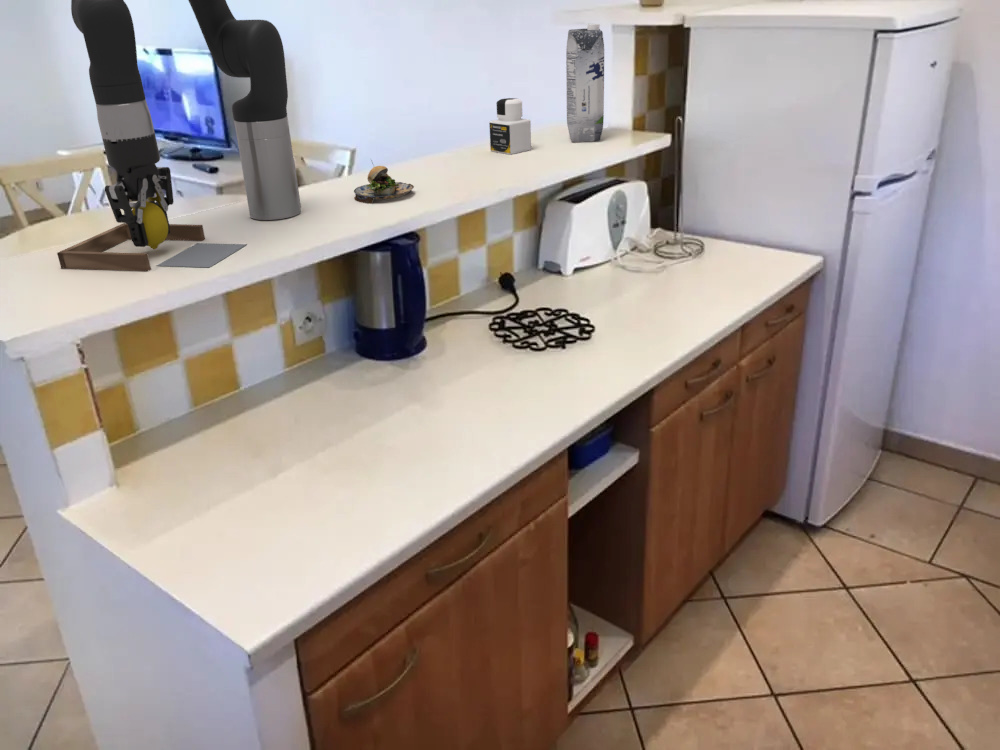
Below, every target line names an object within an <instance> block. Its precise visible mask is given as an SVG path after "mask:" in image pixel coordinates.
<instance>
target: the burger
mask: <svg viewBox="0 0 1000 750" xmlns="http://www.w3.org/2000/svg"><path fill="white" fill-rule="evenodd" d="M370 162H371V163H372V165H373V167H372V168H371V169H370V170H369V172H368V175H367V182H368V183H369V184H364V185H361V186H357V187H356V188H355V189H354V190H353V193H354V194H355V195H354V198H353V199H354V201H355V202H358V203H363V204H371V205H372V204H373V203H374V200H390V199H396V198H400V197H402V196H406V195H407V194H409V192H411V191H412V190H413V189H414V188H415V185H413V184H411V183H407V182H401V181H396V180H395V179H394V178H392V177H391V176H390V175H389V174H388V171H389V169H388V168H387V167H386V166H384V165H377V166H375V165H374V162H373V160H372V159H370Z"/></svg>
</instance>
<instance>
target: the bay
mask: <svg viewBox="0 0 1000 750" xmlns="http://www.w3.org/2000/svg"><path fill="white" fill-rule="evenodd" d="M169 226H170V234H168V235H167V237H166V239H165V240H164V241H183V240H184V241H185V242H186V241H189V242H191V241H193V242H203V241H204V240H206V236H205V231H204V224H188V223H187V224H183V223H181V224H179V223H178V224H177V223H174V224H173V223H172V224H171V223H169ZM127 240H132V239H131V235H130V231H129V227H128V224H127V223H120V224H119V225H116V226H115V227H112V228H110V229H107V230H106V231H103V232H101V233H99V234H96V235H94V236H92V237H90V238H88V239H85V240H83V241H81V242H78V243H76V244H73V245H72V246H70V247H66V248H65V249H63V250H60V251H59V252H58V251H57V252H56V254H57V257H58V262H59V265H60V269H64V270H65V269H67V270H69V269H70V270H92V271H93V270H96V271H97V270H98V271H99V270H100V271H101V270H102V271H122V272H123V271H129V272H148V270H149V271H150V270H152V268H151V263H150V259H149V255H148V253H147V252H146V253H145V252H141V253H140V252H109V251H108V252H105V251H107V250H109V249H111V248H113V247H115V246H117V245H119V244H122V243H123V242H126V241H127Z"/></svg>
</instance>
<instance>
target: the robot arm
mask: <svg viewBox="0 0 1000 750" xmlns="http://www.w3.org/2000/svg"><path fill="white" fill-rule="evenodd" d="M187 1H188V2H189V5H190V7H191V9H192V12H193V14H194V16H195V19H196V22H197V23H198V26H199V29H200V31H201V34H202V36H203V38H204V41H205V43H206V47H207V48H208V50H209V53H210V55H211V57H212V59H213V61H214V62H215V65H216V66H217V67H218V69H220V71H221V72H222V73H223V74H225V75H226V76H229V77H231V78H232V77H233V78H238V79H239V78H240V79H241V78H248V79H249V82H250V89H249V92H248V93H247V94H246V96H244V97H242V98H240V99H238V100H236V101H235V102H233V104H232V105H231V111H232V118H233V122H234V123H233V124H234V128H235V135H236V139H237V147H238V152H239V157H240V164H241V169H242V176H243V182H244V187H245V193H246V200H247V205H248V211H249V217H250V218H252V219H254V220H261V221H272V220H281V219H282V220H283V219H287V218H291V217H295V216H298V215H299V214H300V213H301V212H302V204H301V197H300V190H299V183H298V178H297V177H298V176H297V169H296V163H295V162H296V161H295V158H294V152H293V151H294V150H293V145H292V144H293V143H292V139H291V138H292V137H291V133H290V125H289V119H288V112H287V111H288V110H287V105H288V98H289V96H288V95H289V91H288V80H287V72H286V59H285V51H284V50H285V49H284V46H283V41H282V38H281V35H280V32H279V31H278V29H277V27H276V26H275V25H274V24H273V23H272V22H270V21H269V20H266V19H236V18H235V16H234V15H233V12H232V11H231V9H230V7H229V5H228V3H227V0H187ZM70 10H71V18H72V20H73V23H74V25H75V26H76V28H77V29H78V31H79V32H81V34H82V35H83V39H84V43H85V47H86V51H87V55H88V59H89V67H88V74H89V80H90V81H89V82H90V85H91V90H92V94H93V98H94V102H95V106H96V116H97V122H98V126H99V130H100V134H101V135H100V136H101V139H102V143H103V147H104V151H105V156H106V160H107V163H108V166H109V167H111V168H113V169H114V170H115V171H116V182H114V183H113V184H111V185H105V186H104V192H105V195H106V198H107V200H108V203H109V205H110V207H111V211H112V213H113V216H114V219H115V221H116V223H118V224H119V223H120V224H123V223H127V224H128V227H129V231H130V235H131V239H130V240H131V243H132V244H133V245H134V247H136V248H144V247H148V246H147V245H148V239H147V235H146V231H145V226H144V223H142V218H143V209H144V208H145V207H146V201H147V202H151V203H154V204H156V205H157V206H159V207H160V208H161V209H162V211H163V212H164V214H165V217H166V219H167V223H168V234H170V226H169V224H170V222H169V217H168V214H167V212H168V210H169V206H171V205H174V193H173V191H174V190H173V184H172V174H171V169H170V167H168V166H157V165H156V164H158V163H159V162H160V160H161V155H160V152H159V146H158V143H157V141H158V140H157V137H156V132H155V128H154V124H153V123H154V122H153V119H152V115H151V112H150V109H149V105H148V104H147V100H146V95H145V90H144V85H143V81H142V76H141V74H140V70H139V65H138V53H137V43H136V42H137V41H136V33H135V27H134V22H133V18H132V13H131V10H130V8H129V7H128V5H127V3H126V1H124V0H70ZM130 201H131V202H130ZM133 208H135V215H133V212H132V210H133ZM122 211H123V212H122Z"/></svg>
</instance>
